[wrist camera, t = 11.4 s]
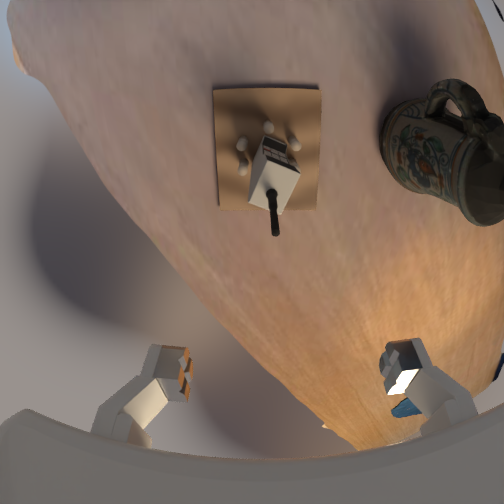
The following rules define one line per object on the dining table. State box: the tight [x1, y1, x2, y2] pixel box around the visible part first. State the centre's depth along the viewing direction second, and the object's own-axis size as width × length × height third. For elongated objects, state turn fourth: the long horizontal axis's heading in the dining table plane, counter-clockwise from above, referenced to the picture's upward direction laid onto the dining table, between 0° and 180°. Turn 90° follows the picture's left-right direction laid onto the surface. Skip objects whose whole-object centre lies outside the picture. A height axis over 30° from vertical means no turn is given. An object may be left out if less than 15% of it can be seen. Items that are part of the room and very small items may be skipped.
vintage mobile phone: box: [248, 135, 301, 236], centre depth 31 cm, size 4×5×25 cm
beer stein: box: [380, 79, 504, 227], centre depth 29 cm, size 16×19×25 cm
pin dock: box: [213, 88, 321, 211], centre depth 40 cm, size 20×16×6 cm
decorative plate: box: [391, 398, 422, 418], centre depth 89 cm, size 30×30×5 cm
